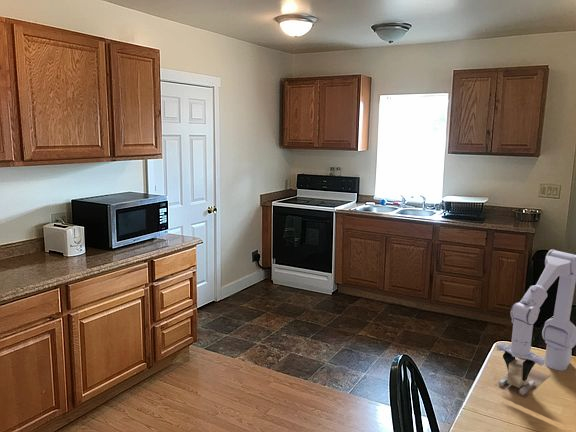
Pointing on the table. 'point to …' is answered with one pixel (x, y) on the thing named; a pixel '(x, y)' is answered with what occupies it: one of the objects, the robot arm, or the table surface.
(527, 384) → the board
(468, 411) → the table surface
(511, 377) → the block
